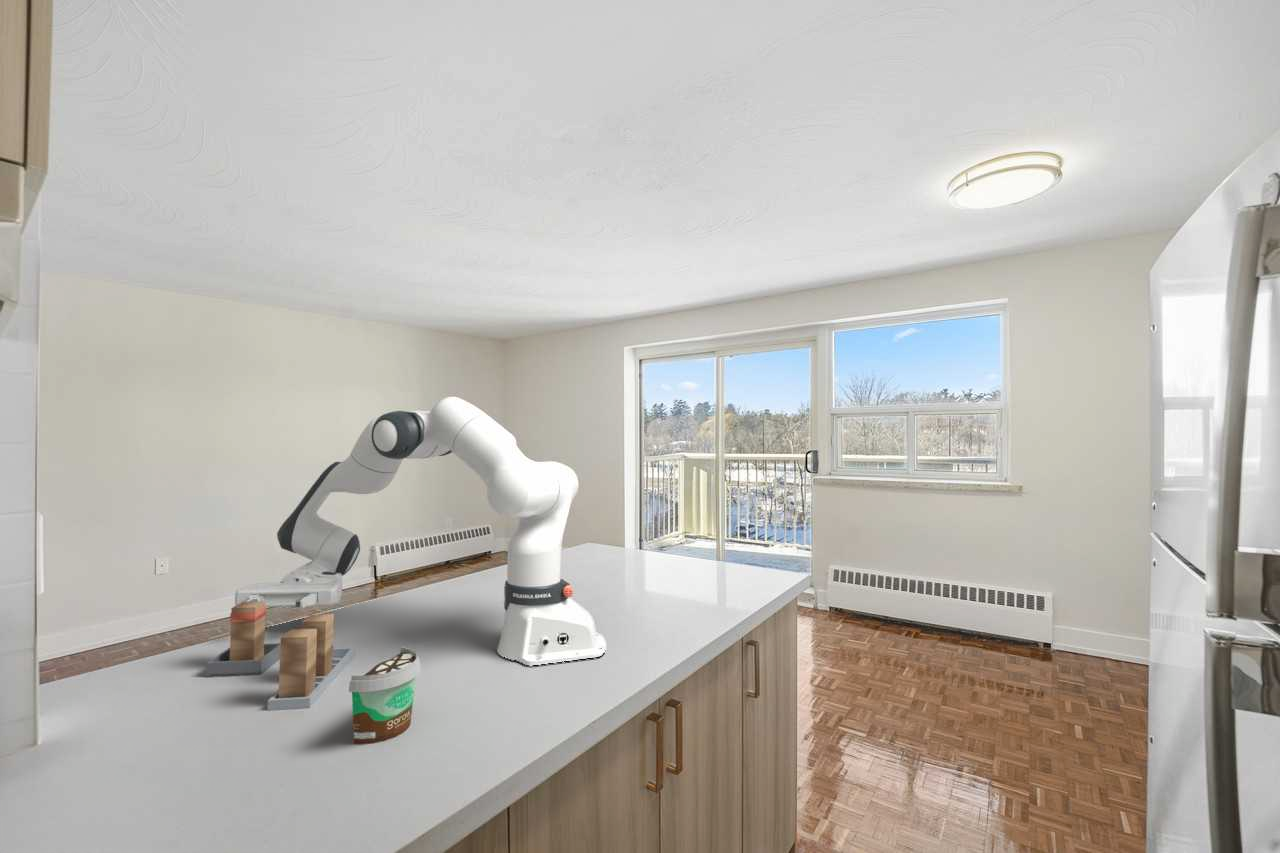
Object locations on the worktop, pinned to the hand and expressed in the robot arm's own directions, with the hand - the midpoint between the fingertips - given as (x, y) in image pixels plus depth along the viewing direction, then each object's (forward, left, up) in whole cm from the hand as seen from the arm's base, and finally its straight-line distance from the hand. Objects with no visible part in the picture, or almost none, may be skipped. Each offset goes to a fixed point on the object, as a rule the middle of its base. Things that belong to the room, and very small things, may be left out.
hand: (274, 605), depth 117 cm
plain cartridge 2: (-15, +19, -8) cm, 26 cm away
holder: (-15, +19, -8) cm, 26 cm away
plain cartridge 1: (-15, +27, -8) cm, 32 cm away
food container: (-33, +39, -8) cm, 52 cm away
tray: (0, +11, -8) cm, 14 cm away
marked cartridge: (0, +11, -8) cm, 13 cm away
